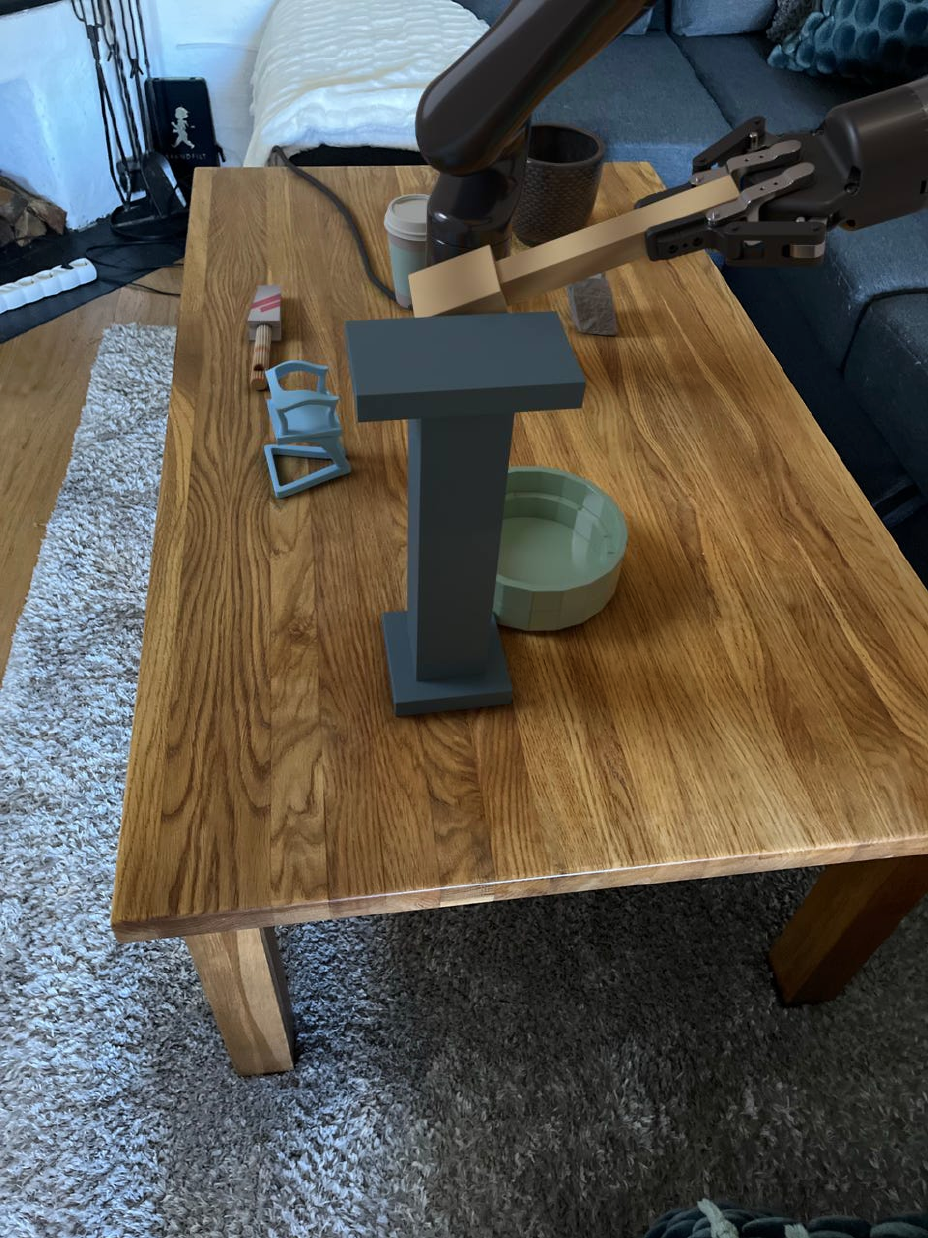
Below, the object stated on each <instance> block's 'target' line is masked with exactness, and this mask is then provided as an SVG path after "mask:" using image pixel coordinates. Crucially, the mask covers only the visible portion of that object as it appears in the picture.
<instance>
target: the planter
mask: <svg viewBox="0 0 928 1238" xmlns="http://www.w3.org/2000/svg"><path fill="white" fill-rule="evenodd" d="M605 158H606V146H605V143H604V141H603V140H602V139H601V137H599V136H598V135H597V134H595V133H594V132H592V131H590V130H588V129H585V128H583V127H580V126H577V125H574V124H569V123H563V122H557V121H556V122H554V121H534V122H531V133H530V142H529V149H528V157H527V164H526V172H525V179H524V186H523V192H522V196H521V200H520V203H519V205H518V208H517V210H516V213H515V217H514V223H513V231H512V233H514V235H515V237H516V238H517V240H518V241H519V242H521V243H522V244H524V245H525V246H528V247H530V248H534V247H536V246H539V245H542V244H544V243H547V242H550V241H552V240H555V239H558V238H561V237H563V236H566V235H569V234H571V233H574V232H577V231H579V230H582V229H585V228H587V225H588V223H589V221H590V219H591V217H592V214H593V210H594V208H595V204H596V201H597V197H598V192H599V189H600V183H601V179H602V174H603V169H604V164H605Z"/></svg>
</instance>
